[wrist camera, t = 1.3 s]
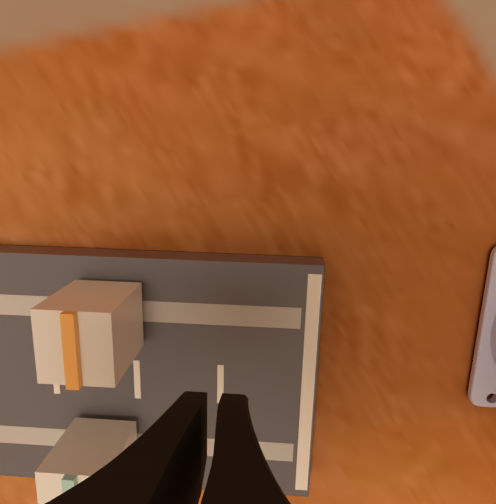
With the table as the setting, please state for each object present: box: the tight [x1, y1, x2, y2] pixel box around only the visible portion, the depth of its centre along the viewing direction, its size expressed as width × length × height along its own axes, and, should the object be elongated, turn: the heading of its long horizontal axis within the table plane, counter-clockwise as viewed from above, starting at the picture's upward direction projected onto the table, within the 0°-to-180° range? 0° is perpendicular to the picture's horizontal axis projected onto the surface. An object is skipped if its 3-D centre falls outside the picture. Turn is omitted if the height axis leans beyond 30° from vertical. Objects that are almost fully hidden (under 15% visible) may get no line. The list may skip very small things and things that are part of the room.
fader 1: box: [30, 280, 144, 390], centre depth 17 cm, size 3×3×4 cm
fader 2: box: [35, 417, 137, 504], centre depth 19 cm, size 3×3×4 cm
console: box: [0, 245, 325, 497], centre depth 21 cm, size 17×12×2 cm
